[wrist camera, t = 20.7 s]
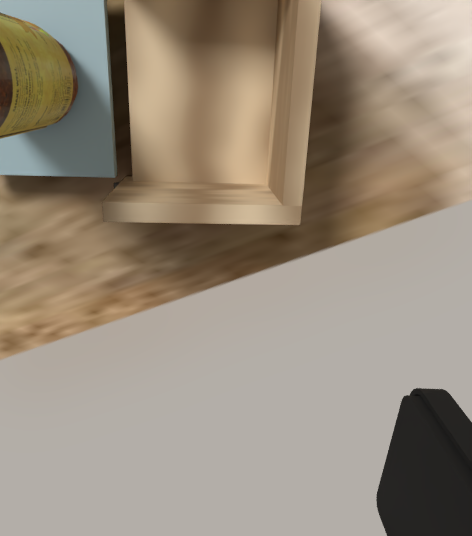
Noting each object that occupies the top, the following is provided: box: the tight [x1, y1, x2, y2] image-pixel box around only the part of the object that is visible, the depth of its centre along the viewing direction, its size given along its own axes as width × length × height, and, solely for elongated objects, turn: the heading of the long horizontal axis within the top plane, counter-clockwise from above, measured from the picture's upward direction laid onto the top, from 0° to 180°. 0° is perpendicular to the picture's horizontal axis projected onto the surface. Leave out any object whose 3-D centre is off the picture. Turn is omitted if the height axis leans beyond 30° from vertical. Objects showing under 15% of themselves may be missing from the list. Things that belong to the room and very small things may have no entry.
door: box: [0, 0, 117, 178], centre depth 29 cm, size 10×12×2 cm
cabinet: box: [102, 0, 321, 225], centre depth 28 cm, size 12×16×9 cm
